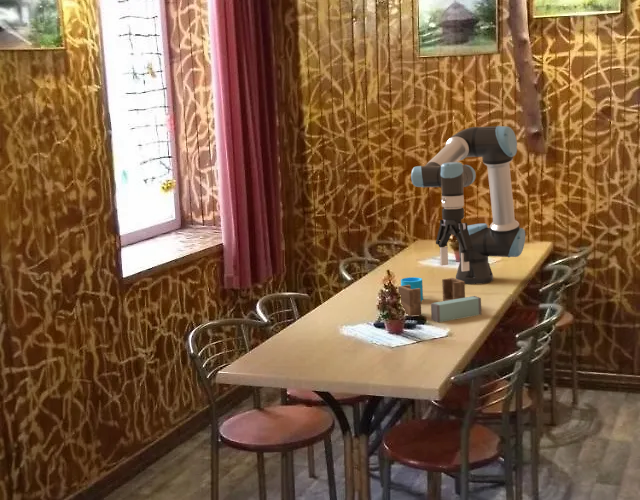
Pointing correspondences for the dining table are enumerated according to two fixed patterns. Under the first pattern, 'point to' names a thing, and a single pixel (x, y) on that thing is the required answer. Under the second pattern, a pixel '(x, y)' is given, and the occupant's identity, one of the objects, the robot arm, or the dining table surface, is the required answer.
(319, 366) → the dining table surface
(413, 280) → the mug
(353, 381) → the dining table surface
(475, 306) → the rail
